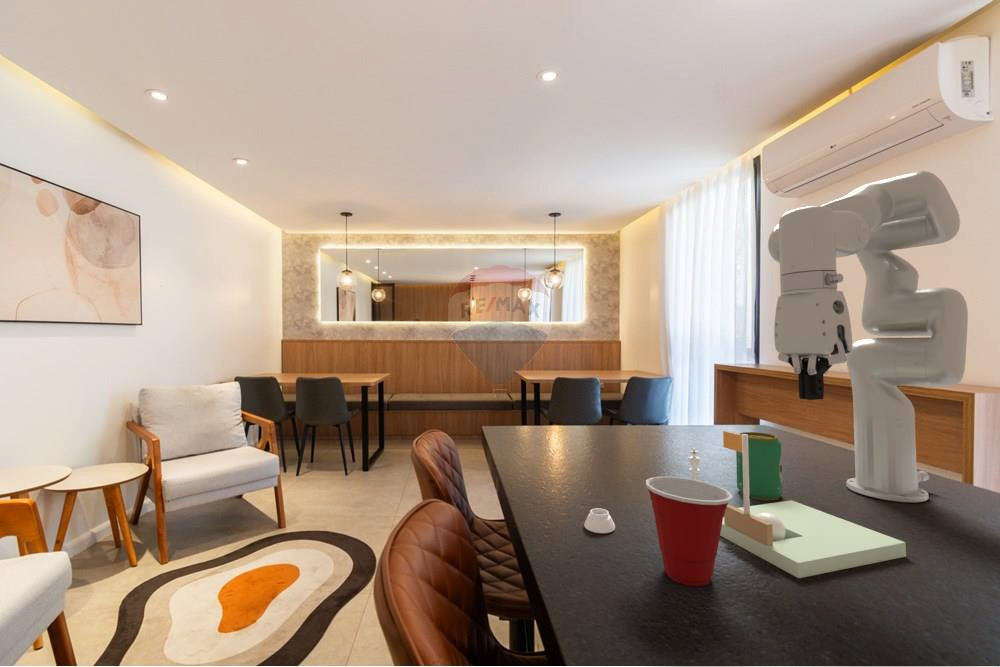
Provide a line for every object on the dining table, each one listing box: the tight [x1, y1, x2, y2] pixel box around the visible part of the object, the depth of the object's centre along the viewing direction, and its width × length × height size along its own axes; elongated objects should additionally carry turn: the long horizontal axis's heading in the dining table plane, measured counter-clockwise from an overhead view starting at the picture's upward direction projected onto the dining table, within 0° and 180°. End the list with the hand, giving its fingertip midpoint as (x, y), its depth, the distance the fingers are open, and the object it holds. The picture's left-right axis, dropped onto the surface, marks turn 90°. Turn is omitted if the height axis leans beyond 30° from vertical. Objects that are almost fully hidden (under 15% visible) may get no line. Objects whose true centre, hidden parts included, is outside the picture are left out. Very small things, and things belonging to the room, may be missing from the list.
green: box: [720, 430, 907, 579], centre depth 70 cm, size 20×18×17 cm
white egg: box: [755, 512, 786, 541], centre depth 68 cm, size 5×5×5 cm
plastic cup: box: [645, 476, 734, 587], centre depth 59 cm, size 11×11×12 cm
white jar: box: [583, 507, 616, 535], centre depth 74 cm, size 5×3×5 cm
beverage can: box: [735, 431, 783, 501], centre depth 90 cm, size 8×8×12 cm
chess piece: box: [688, 447, 701, 481], centre depth 88 cm, size 5×5×10 cm
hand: (811, 398), depth 71 cm, fingers closed
